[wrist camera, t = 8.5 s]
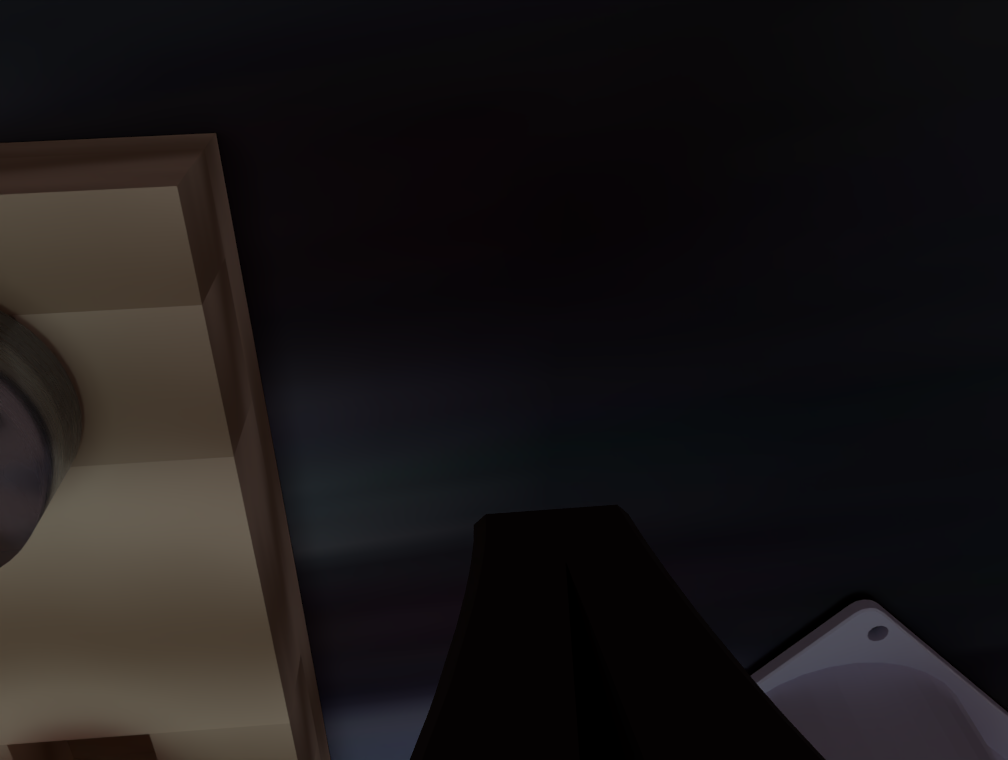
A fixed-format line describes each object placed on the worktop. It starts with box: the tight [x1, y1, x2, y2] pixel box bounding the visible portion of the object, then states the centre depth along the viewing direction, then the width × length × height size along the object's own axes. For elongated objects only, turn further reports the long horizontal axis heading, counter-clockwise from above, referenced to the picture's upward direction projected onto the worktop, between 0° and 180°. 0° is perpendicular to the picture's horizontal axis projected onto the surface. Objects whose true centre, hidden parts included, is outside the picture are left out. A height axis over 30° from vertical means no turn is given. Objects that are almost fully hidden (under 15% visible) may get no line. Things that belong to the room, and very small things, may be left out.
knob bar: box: [0, 133, 331, 760], centre depth 22 cm, size 27×9×3 cm, turn 2°
